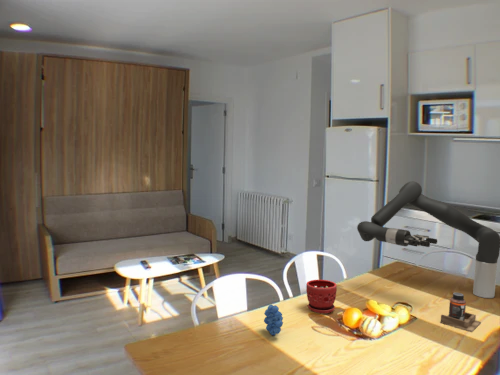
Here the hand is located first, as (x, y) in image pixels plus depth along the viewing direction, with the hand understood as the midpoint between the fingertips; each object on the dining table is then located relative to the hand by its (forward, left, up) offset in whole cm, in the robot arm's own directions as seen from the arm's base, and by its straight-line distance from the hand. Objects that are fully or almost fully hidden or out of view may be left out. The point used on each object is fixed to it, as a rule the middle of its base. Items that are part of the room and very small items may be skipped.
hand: (433, 243), depth 182 cm
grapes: (+70, -31, -30) cm, 82 cm away
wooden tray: (+6, +15, -30) cm, 34 cm away
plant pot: (+37, -33, -30) cm, 58 cm away
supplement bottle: (+6, +14, -30) cm, 33 cm away
